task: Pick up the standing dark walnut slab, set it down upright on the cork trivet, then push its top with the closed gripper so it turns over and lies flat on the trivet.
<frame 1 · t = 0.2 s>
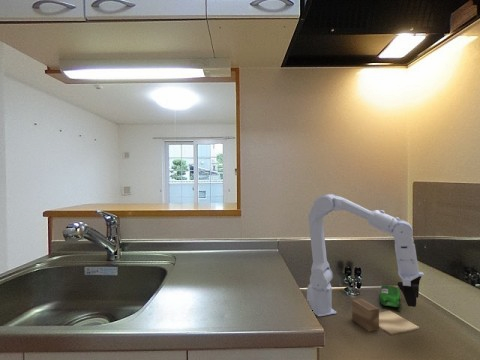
hand: (413, 301, 88), 11 cm above the countertop, fingers open, 7 cm apart
trivet: (390, 322, 96), on the countertop
slab: (365, 324, 95), on the countertop
snack package: (390, 303, 111), on the countertop
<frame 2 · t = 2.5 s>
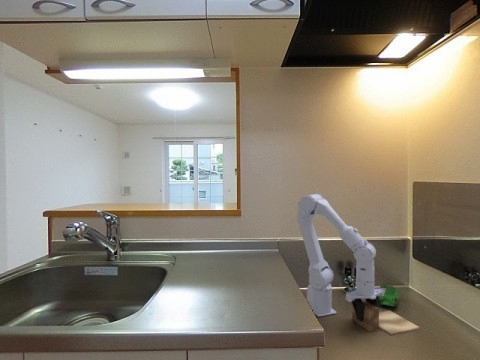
hand: (365, 318, 95), 2 cm above the countertop, fingers closed on slab, 4 cm apart
slab: (365, 324, 95), on the countertop, touching gripper
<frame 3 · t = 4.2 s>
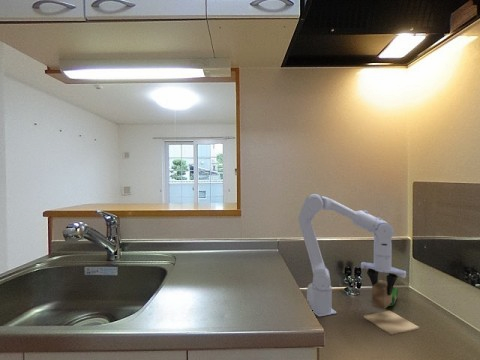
hand: (382, 292, 99), 9 cm above the countertop, fingers closed on slab, 4 cm apart
slab: (382, 303, 99), point 5 cm above the countertop, touching gripper
when the fingers open (3 cm above the countertop, at t = 6.1 s): slab stays where it is, resting on trivet.
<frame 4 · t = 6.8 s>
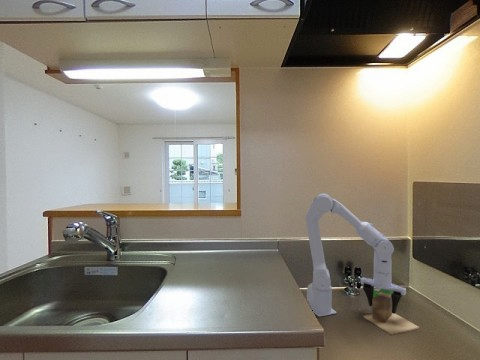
hand: (382, 308, 99), 3 cm above the countertop, fingers open, 7 cm apart
slab: (382, 316, 99), resting on trivet
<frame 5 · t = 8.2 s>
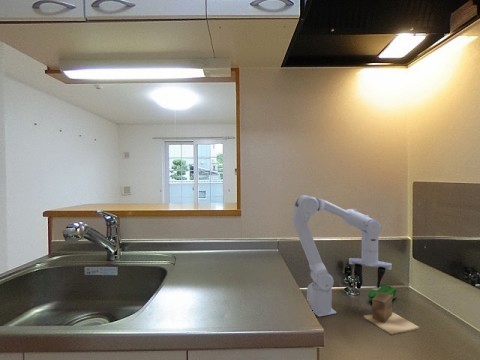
hand: (369, 285, 104), 9 cm above the countertop, fingers open, 5 cm apart
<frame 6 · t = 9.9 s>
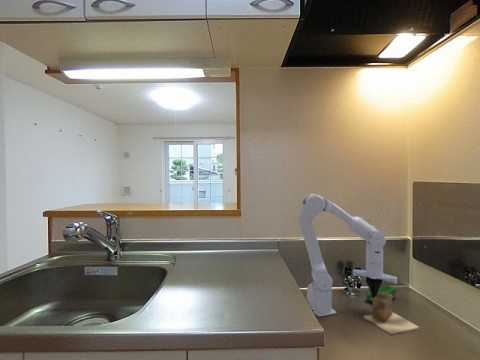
hand: (374, 298, 102), 5 cm above the countertop, fingers closed
slab: (382, 316, 99), point 1 cm above the countertop, touching gripper, trivet
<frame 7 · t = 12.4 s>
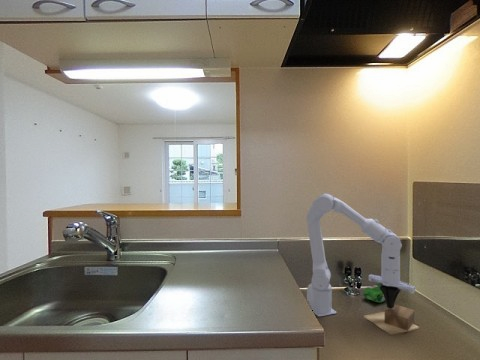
hand: (390, 307, 95), 5 cm above the countertop, fingers closed
slab: (388, 312, 97), point 2 cm above the countertop, tilted 90°, touching trivet
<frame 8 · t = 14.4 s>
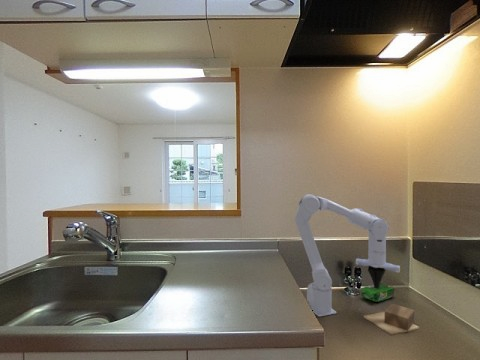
hand: (376, 287, 101), 10 cm above the countertop, fingers closed
at the end: slab tilted 90°; slab inside the target area (2.2 cm from its centre), point 2.5 cm above the countertop; the gripper is holding nothing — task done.
